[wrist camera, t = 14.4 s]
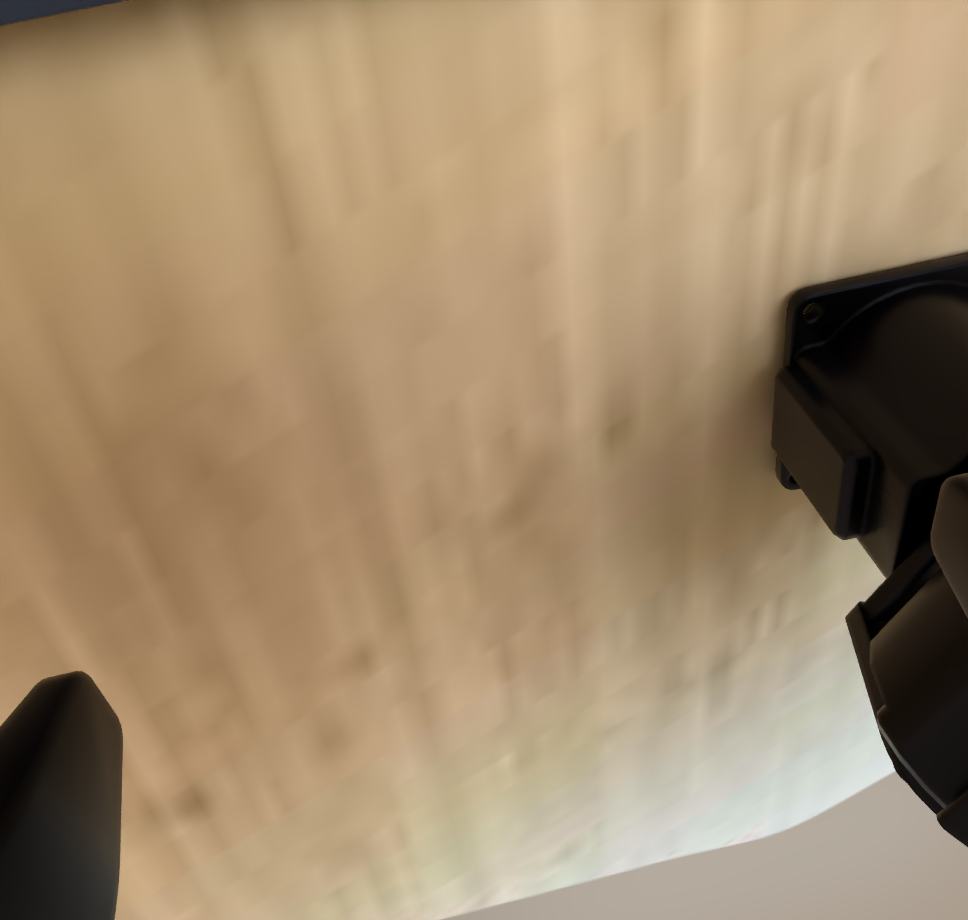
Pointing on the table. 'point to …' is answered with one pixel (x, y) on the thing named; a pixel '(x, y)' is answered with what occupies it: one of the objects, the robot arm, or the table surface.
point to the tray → (43, 8)
